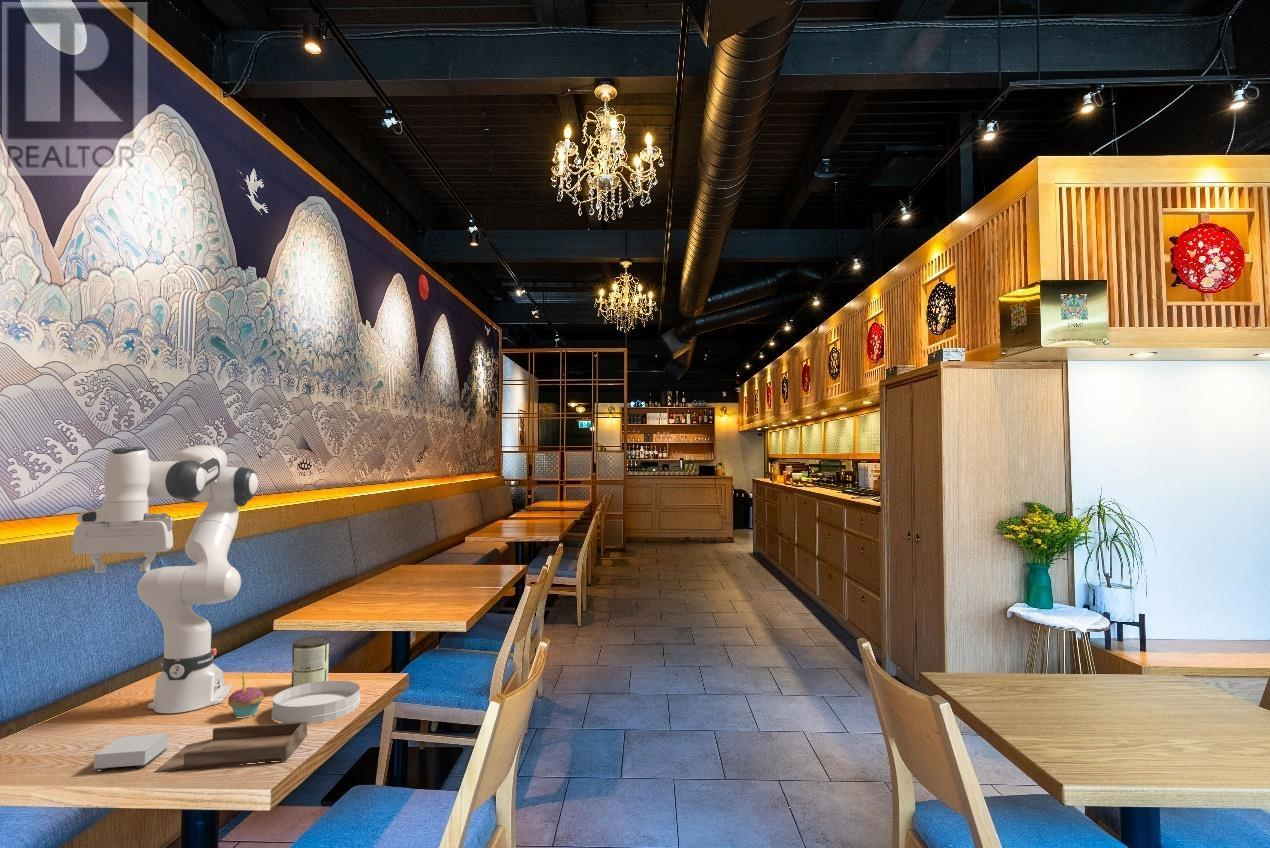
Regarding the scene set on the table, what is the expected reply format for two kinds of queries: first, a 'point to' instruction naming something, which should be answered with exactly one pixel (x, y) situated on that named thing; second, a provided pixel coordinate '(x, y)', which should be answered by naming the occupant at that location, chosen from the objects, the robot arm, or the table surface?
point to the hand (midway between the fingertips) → (122, 571)
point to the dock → (240, 746)
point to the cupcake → (245, 700)
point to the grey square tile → (131, 751)
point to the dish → (316, 702)
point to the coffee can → (310, 660)
